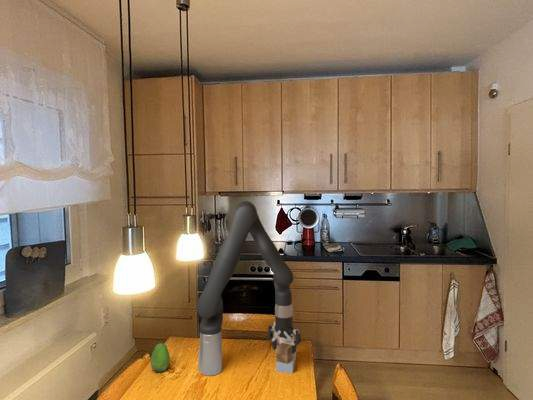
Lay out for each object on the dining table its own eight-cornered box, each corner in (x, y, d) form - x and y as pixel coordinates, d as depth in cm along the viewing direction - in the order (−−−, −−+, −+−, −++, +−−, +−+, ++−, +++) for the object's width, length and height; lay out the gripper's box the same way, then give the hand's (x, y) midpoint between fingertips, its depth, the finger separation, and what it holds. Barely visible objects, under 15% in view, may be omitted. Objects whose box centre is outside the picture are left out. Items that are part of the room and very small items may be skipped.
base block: (276, 372, 147) (276, 363, 147) (279, 364, 154) (278, 355, 154) (292, 373, 146) (292, 364, 146) (294, 365, 153) (294, 356, 153)
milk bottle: (289, 344, 172) (288, 304, 171) (290, 352, 164) (290, 310, 163) (273, 345, 171) (272, 305, 171) (274, 352, 164) (273, 311, 163)
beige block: (283, 360, 156) (283, 347, 156) (285, 355, 161) (285, 342, 161) (295, 361, 155) (294, 348, 155) (296, 356, 160) (295, 343, 160)
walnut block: (276, 361, 149) (276, 347, 148) (281, 355, 153) (281, 342, 153) (287, 363, 146) (287, 349, 146) (292, 358, 151) (292, 344, 150)
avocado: (168, 374, 146) (167, 346, 146) (149, 376, 145) (148, 348, 145) (171, 364, 154) (170, 338, 154) (153, 366, 153) (152, 339, 153)
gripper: (265, 314, 148) (265, 351, 149) (296, 319, 142) (296, 358, 143) (272, 308, 155) (272, 344, 156) (302, 313, 149) (303, 350, 150)
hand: (284, 351), depth 150 cm, fingers open, 8 cm apart
